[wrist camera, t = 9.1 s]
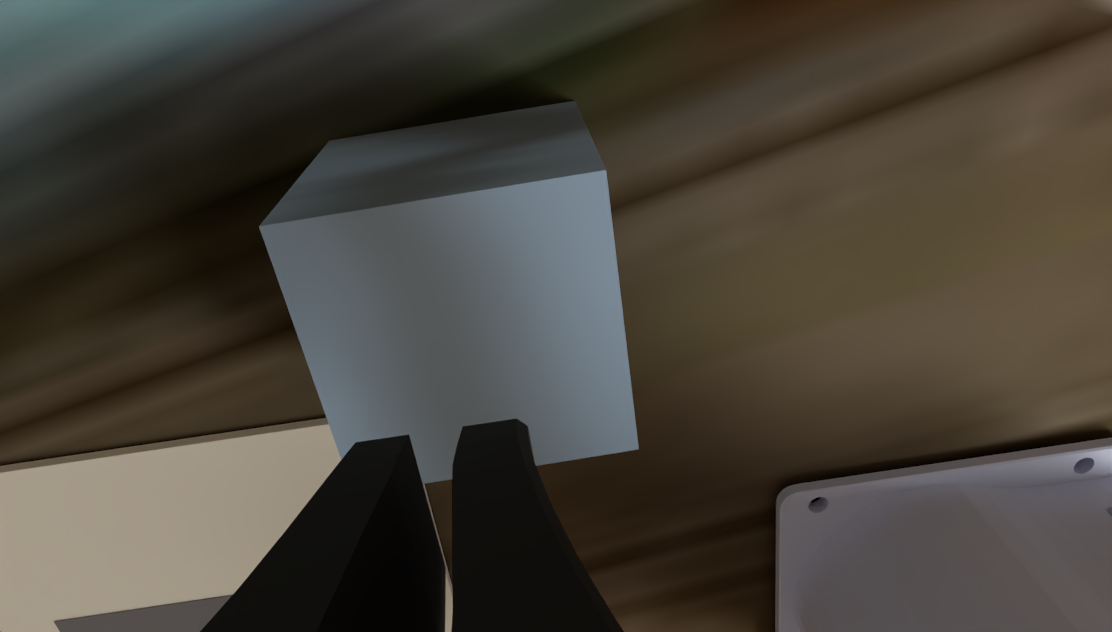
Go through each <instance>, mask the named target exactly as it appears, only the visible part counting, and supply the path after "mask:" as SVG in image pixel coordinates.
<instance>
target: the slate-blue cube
mask: <svg viewBox="0 0 1112 632" xmlns="http://www.w3.org/2000/svg"><path fill="white" fill-rule="evenodd" d="M259 228H260V231H261V234H262V237H263V239H264V242H265V245H266V248H267V251H268V254H269V256H270V259H271V262H272V265H273V268H274V271H275V273H276V276H277V279H278V282H279V285H280V288H281V290H282V293H283V296H284V299H285V302H286V305H287V307H288V310H289V313H290V316H291V319H292V322H293V324H294V327H295V330H296V333H297V336H298V339H299V341H300V344H301V347H302V350H303V353H304V355H305V358H306V361H307V364H308V367H309V370H310V372H311V375H312V378H313V381H314V384H315V387H316V389H317V392H318V395H319V398H320V401H321V404H322V406H323V409H324V412H325V415H326V418H327V421H328V423H329V426H330V429H331V432H332V435H333V438H334V440H335V443H336V446H337V449H338V452H339V454H340V457H341V460H342V458H343V457H344V456H345V455H346V453H347V452H348V451H349V450H350V449H351V447H352V446H353V445H354V444H355V442H361V441H368V440H375V439H382V438H388V437H395V436H402V435H408V434H409V436H410V440H411V443H412V447H413V451H414V454H415V458H416V461H417V465H418V469H419V472H420V476H421V480H422V483H423V484H426V483H432V482H438V481H444V480H451V479H452V466H453V461H454V456H455V452H456V447H457V443H458V440H459V437H460V434H461V430H462V427H463V426H469V425H476V424H483V423H489V422H496V421H503V420H510V419H516V418H517V419H518V420H520V421H521V422H523V423H524V424H526V425H527V426H528V429H529V435H530V440H531V446H532V451H533V456H534V462H535V465H536V466H538V465H544V464H551V463H557V462H563V461H570V460H576V459H582V458H588V457H595V456H601V455H607V454H613V453H620V452H626V451H632V450H638V449H639V446H638V438H637V429H636V421H635V412H634V404H633V395H632V387H631V378H630V370H629V361H628V353H627V344H626V336H625V327H624V319H623V310H622V302H621V293H620V285H619V276H618V268H617V259H616V251H615V242H614V234H613V225H612V217H611V208H610V200H609V191H608V182H607V174H606V169H605V167H604V164H603V162H602V160H601V158H600V155H599V153H598V151H597V149H596V147H595V144H594V142H593V140H592V138H591V135H590V133H589V131H588V129H587V127H586V124H585V122H584V120H583V118H582V115H581V113H580V111H579V109H578V107H577V104H576V102H575V101H569V102H563V103H557V104H551V105H545V106H539V107H533V108H526V109H520V110H514V111H508V112H502V113H496V114H490V115H484V116H477V117H471V118H465V119H459V120H453V121H447V122H441V123H434V124H428V125H422V126H416V127H410V128H404V129H398V130H392V131H385V132H379V133H373V134H367V135H361V136H355V137H349V138H343V139H336V140H330V141H329V142H328V143H327V144H326V145H325V147H324V148H323V149H322V150H321V151H320V153H319V154H318V155H317V156H316V158H315V159H314V160H313V161H312V162H311V164H310V165H309V166H308V167H307V168H306V170H305V171H304V172H303V173H302V175H301V176H300V177H299V178H298V179H297V181H296V182H295V183H294V184H293V186H292V187H291V188H290V189H289V190H288V192H287V193H286V194H285V195H284V196H283V198H282V199H281V200H280V201H279V203H278V204H277V205H276V206H275V207H274V209H273V210H272V211H271V212H270V214H269V215H268V216H267V217H266V218H265V220H264V221H263V222H262V223H261V224H260V226H259Z"/></svg>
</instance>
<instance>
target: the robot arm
mask: <svg viewBox="0 0 1112 632" xmlns="http://www.w3.org/2000/svg"><path fill="white" fill-rule="evenodd" d="M818 497H821V498H820V499H819V500H818V501H815V502H813V503H811V501H812V500H813V499H815V498H818ZM452 580H453V614H452V631H451V632H624V631H623V630H622V628H621V627H620V625H619V624H618V622H617V621H616V619H615V618H614V616H613V614H612V613H611V611H610V609H609V608H608V606H607V605H606V603H605V601H604V600H603V598H602V596H601V595H600V593H599V592H598V590H597V588H596V587H595V585H594V583H593V582H592V580H591V579H590V577H589V575H588V573H587V572H586V570H585V568H584V566H583V564H582V563H581V561H580V559H579V557H578V556H577V554H576V552H575V550H574V548H573V546H572V544H571V542H570V540H569V538H568V536H567V535H566V533H565V531H564V529H563V527H562V525H561V523H560V521H559V519H558V517H557V515H556V513H555V511H554V509H553V507H552V505H551V502H550V500H549V498H548V496H547V494H546V491H545V489H544V486H543V484H542V481H541V478H540V476H539V473H538V471H537V468H536V465H535V462H534V456H533V451H532V446H531V440H530V435H529V429H528V426H527V425H526V424H524V423H523V422H521V421H520V420H518V419H517V418H516V419H510V420H503V421H496V422H489V423H483V424H476V425H469V426H463V427H462V430H461V434H460V437H459V440H458V443H457V447H456V452H455V456H454V461H453V466H452ZM445 602H446V567H445V563H444V559H443V556H442V552H441V549H440V545H439V541H438V538H437V534H436V530H435V527H434V523H433V520H432V516H431V512H430V509H429V505H428V501H427V498H426V494H425V490H424V487H423V483H422V480H421V476H420V472H419V469H418V465H417V461H416V458H415V454H414V451H413V447H412V443H411V440H410V436H409V434H408V435H402V436H395V437H388V438H382V439H375V440H368V441H361V442H355V444H354V445H353V446H352V447H351V449H350V450H349V451H348V452H347V453H346V455H345V456H344V457H343V458H342V460H341V461H340V462H339V463H338V465H337V466H336V467H335V468H334V470H333V471H332V472H331V474H330V475H329V476H328V477H327V479H326V480H325V481H324V482H323V484H322V485H321V486H320V487H319V489H318V490H317V491H316V493H315V494H314V495H313V496H312V498H311V499H310V500H309V502H308V503H307V504H306V505H305V507H304V508H303V509H302V510H301V512H300V513H299V514H298V516H297V517H296V518H295V519H294V521H293V522H292V523H291V524H290V526H289V527H288V528H287V529H286V531H285V532H284V533H283V535H282V536H281V537H280V538H279V539H278V541H277V542H276V543H275V544H274V546H273V547H272V548H271V549H270V550H269V552H268V553H267V554H266V555H265V557H264V558H263V559H262V560H261V561H260V563H259V564H258V565H257V566H256V568H255V569H254V570H253V571H252V572H251V574H250V575H249V576H248V577H247V579H246V580H245V581H244V582H243V583H242V585H241V586H240V587H239V588H238V589H237V591H236V592H235V593H234V594H233V595H232V596H231V597H230V598H229V600H228V601H227V602H226V603H225V604H224V605H223V606H222V607H221V609H220V610H219V611H218V612H217V613H216V614H215V615H214V616H213V618H212V619H211V620H210V621H209V622H208V623H207V624H206V625H205V627H204V628H203V629H202V630H201V631H200V632H445ZM775 632H1112V437H1111V438H1105V439H1098V440H1091V441H1084V442H1078V443H1071V444H1064V445H1057V446H1050V447H1044V448H1037V449H1030V450H1023V451H1017V452H1010V453H1003V454H996V455H990V456H983V457H976V458H969V459H962V460H956V461H949V462H942V463H935V464H929V465H922V466H915V467H908V468H902V469H895V470H888V471H881V472H874V473H868V474H861V475H854V476H847V477H841V478H834V479H827V480H820V481H814V482H807V483H800V484H794V485H791V486H788V487H786V488H785V489H783V490H782V491H781V492H780V493H779V495H778V496H777V500H776V581H775Z"/></svg>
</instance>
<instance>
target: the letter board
mask: <svg viewBox="0 0 1112 632" xmlns="http://www.w3.org/2000/svg"><path fill="white" fill-rule="evenodd" d="M340 461H341V457H340V454H339V452H338V449H337V446H336V443H335V440H334V438H333V435H332V432H331V429H330V426H329V423H328V421H327V418H321V419H314V420H307V421H300V422H294V423H287V424H280V425H273V426H267V427H260V428H253V429H246V430H240V431H233V432H226V433H219V434H213V435H206V436H199V437H192V438H186V439H179V440H172V441H165V442H159V443H152V444H145V445H138V446H132V447H125V448H118V449H111V450H105V451H98V452H91V453H84V454H77V455H71V456H64V457H57V458H50V459H44V460H37V461H30V462H23V463H17V464H10V465H3V466H0V631H1V632H200V631H201V630H202V629H203V628H204V627H205V625H206V624H207V623H208V622H209V621H210V620H211V619H212V618H213V616H214V615H215V614H216V613H217V612H218V611H219V610H220V609H221V607H222V606H223V605H224V604H225V603H226V602H227V601H228V600H229V598H230V597H231V596H232V595H233V594H234V593H235V592H236V591H237V589H238V588H239V587H240V586H241V585H242V583H243V582H244V581H245V580H246V579H247V577H248V576H249V575H250V574H251V572H252V571H253V570H254V569H255V568H256V566H257V565H258V564H259V563H260V561H261V560H262V559H263V558H264V557H265V555H266V554H267V553H268V552H269V550H270V549H271V548H272V547H273V546H274V544H275V543H276V542H277V541H278V539H279V538H280V537H281V536H282V535H283V533H284V532H285V531H286V529H287V528H288V527H289V526H290V524H291V523H292V522H293V521H294V519H295V518H296V517H297V516H298V514H299V513H300V512H301V510H302V509H303V508H304V507H305V505H306V504H307V503H308V502H309V500H310V499H311V498H312V496H313V495H314V494H315V493H316V491H317V490H318V489H319V487H320V486H321V485H322V484H323V482H324V481H325V480H326V479H327V477H328V476H329V475H330V474H331V472H332V471H333V470H334V468H335V467H336V466H337V465H338V463H339V462H340ZM423 487H424V490H425V494H426V498H427V501H428V505H429V509H430V512H431V516H432V520H433V523H434V527H435V530H436V534H437V538H438V541H439V545H440V549H441V552H442V556H443V559H444V563H445V567H446V602H445V632H451V631H452V614H453V587H452V583H451V579H450V576H449V572H448V568H447V565H446V561H445V557H444V554H443V550H442V546H441V543H440V539H439V535H438V532H437V528H436V524H435V521H434V517H433V513H432V510H431V506H430V503H429V499H428V495H427V492H426V488H425V484H423Z"/></svg>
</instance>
